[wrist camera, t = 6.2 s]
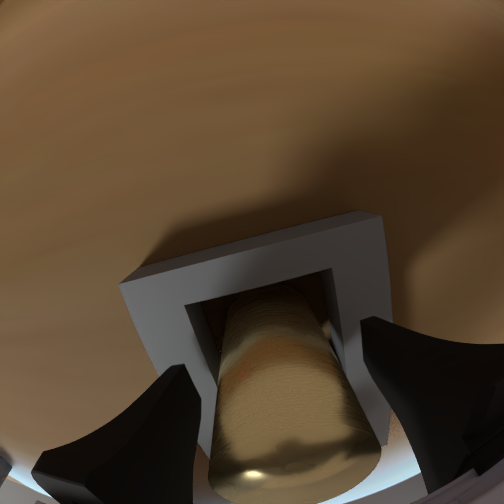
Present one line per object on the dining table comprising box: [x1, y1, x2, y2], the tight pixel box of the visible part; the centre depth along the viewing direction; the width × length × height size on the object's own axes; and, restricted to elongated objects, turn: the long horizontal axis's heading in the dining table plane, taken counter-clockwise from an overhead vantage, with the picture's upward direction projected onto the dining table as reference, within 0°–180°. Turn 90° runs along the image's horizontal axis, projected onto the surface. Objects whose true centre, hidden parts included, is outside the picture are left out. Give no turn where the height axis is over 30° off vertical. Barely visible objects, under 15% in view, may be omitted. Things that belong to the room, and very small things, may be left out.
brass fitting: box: [208, 283, 381, 504], centre depth 10 cm, size 4×4×9 cm
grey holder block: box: [118, 210, 393, 460], centre depth 12 cm, size 15×11×6 cm
